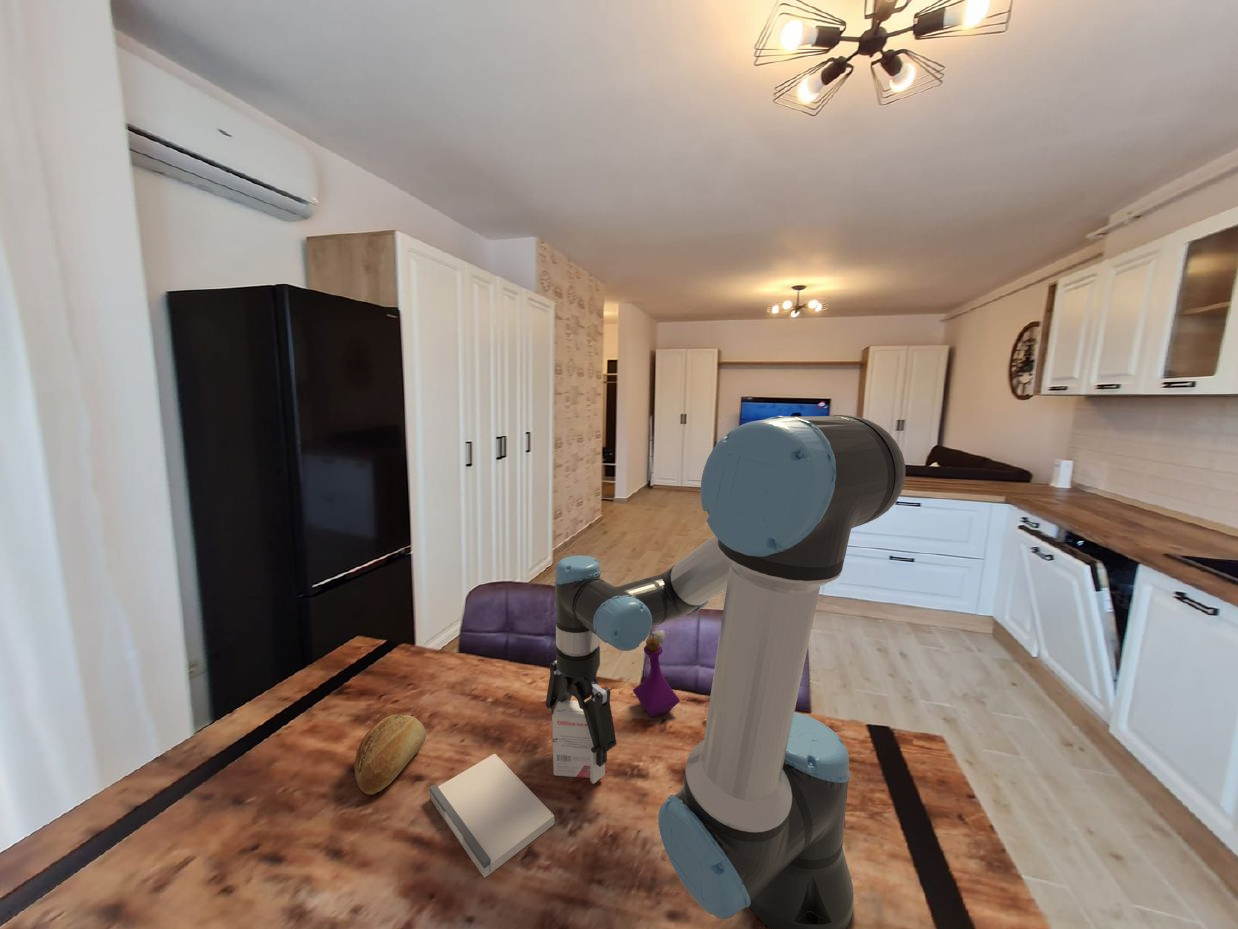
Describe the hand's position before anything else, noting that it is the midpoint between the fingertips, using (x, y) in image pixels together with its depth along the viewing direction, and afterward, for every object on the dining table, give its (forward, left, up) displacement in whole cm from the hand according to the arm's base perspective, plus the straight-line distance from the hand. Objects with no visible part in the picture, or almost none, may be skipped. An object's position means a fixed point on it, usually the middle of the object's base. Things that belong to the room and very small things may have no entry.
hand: (579, 762), depth 85 cm
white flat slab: (+3, +16, -1) cm, 16 cm away
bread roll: (+24, +24, -1) cm, 34 cm away
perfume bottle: (+1, -22, -1) cm, 22 cm away
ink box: (0, 0, -1) cm, 1 cm away
